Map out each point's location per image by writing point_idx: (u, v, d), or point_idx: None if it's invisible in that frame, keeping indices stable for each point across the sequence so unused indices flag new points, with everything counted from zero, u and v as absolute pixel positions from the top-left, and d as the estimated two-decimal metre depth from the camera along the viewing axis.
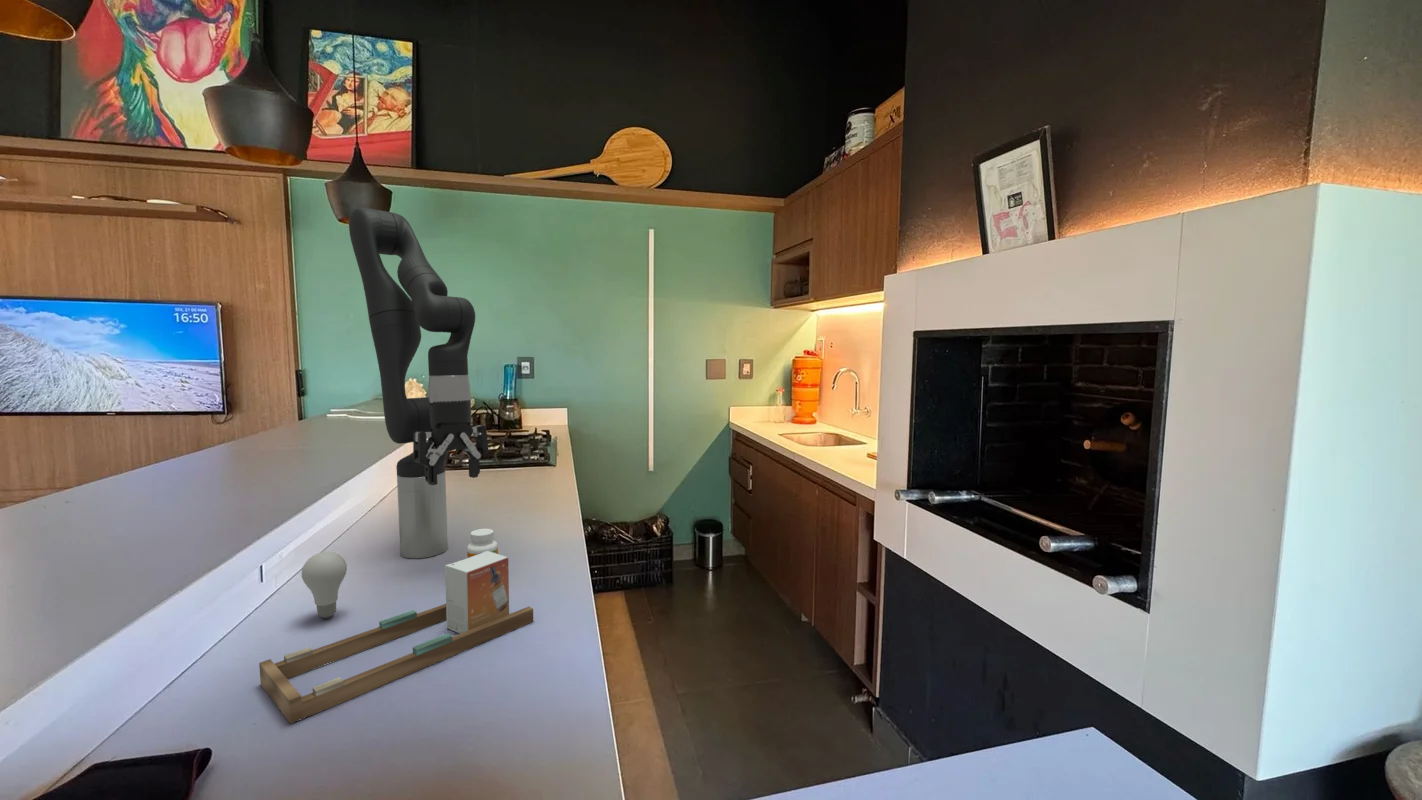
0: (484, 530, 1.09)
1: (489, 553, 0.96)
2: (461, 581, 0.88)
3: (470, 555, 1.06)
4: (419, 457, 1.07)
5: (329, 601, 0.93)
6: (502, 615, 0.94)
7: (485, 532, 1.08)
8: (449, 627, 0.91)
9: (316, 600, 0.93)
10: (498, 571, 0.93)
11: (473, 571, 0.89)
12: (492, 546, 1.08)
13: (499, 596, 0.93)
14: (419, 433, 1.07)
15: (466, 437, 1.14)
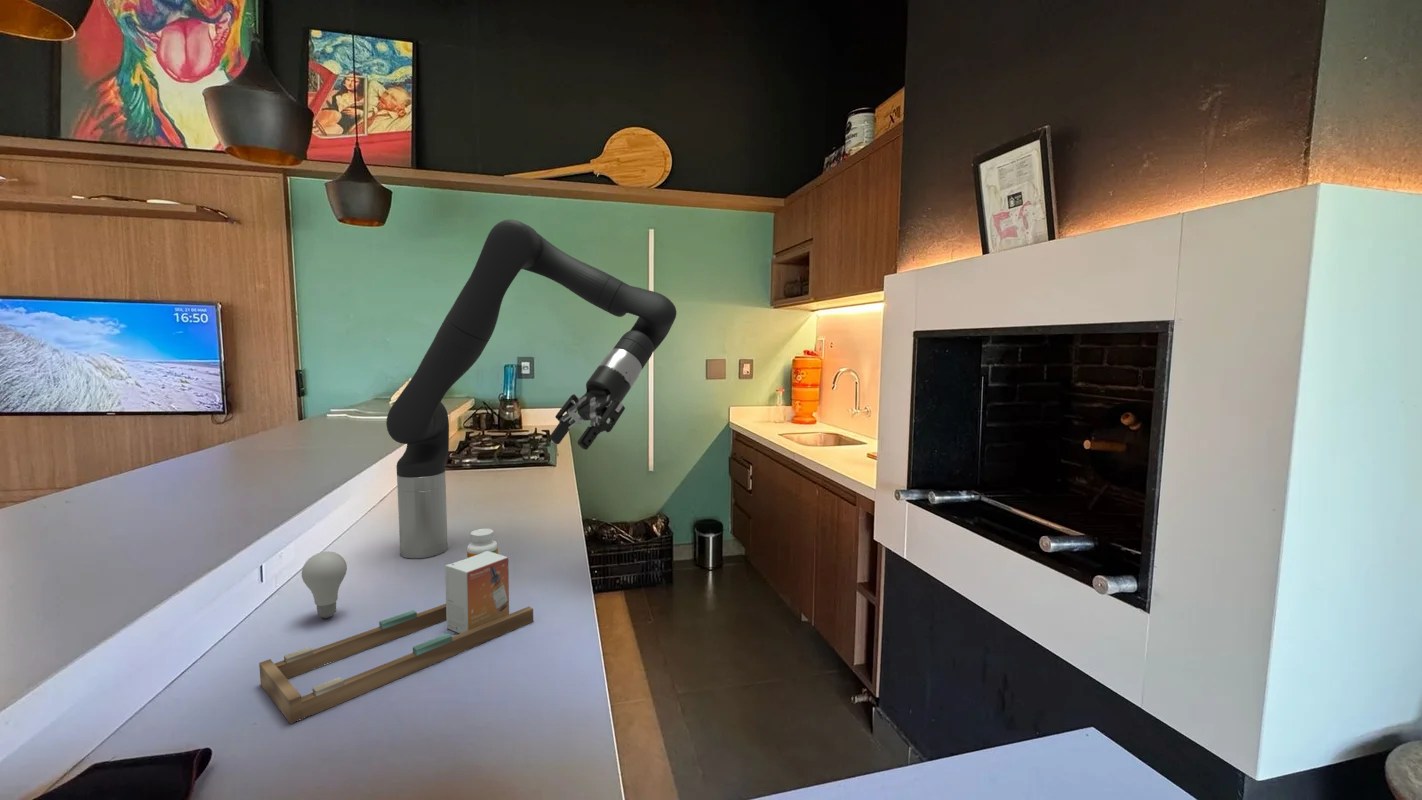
0: (484, 530, 1.09)
1: (489, 553, 0.96)
2: (461, 581, 0.88)
3: (470, 555, 1.06)
4: (612, 426, 1.03)
5: (329, 601, 0.93)
6: (502, 615, 0.94)
7: (485, 532, 1.08)
8: (449, 627, 0.91)
9: (316, 600, 0.93)
10: (498, 571, 0.93)
11: (473, 571, 0.89)
12: (492, 546, 1.08)
13: (499, 596, 0.93)
14: (623, 406, 1.05)
15: None
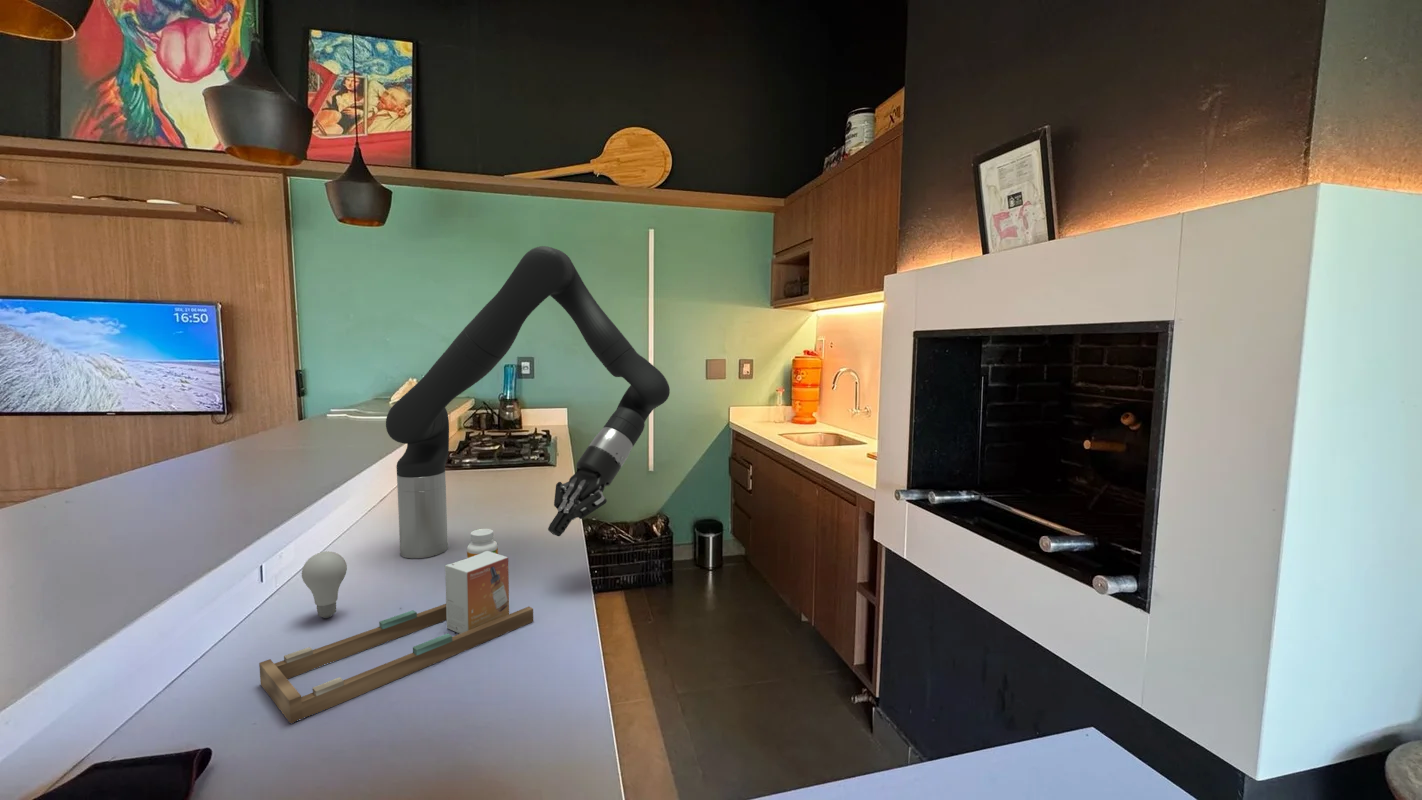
0: (484, 530, 1.09)
1: (489, 553, 0.96)
2: (461, 581, 0.88)
3: (470, 555, 1.06)
4: (584, 515, 1.04)
5: (329, 601, 0.93)
6: (502, 615, 0.94)
7: (485, 532, 1.08)
8: (449, 627, 0.91)
9: (316, 600, 0.93)
10: (498, 571, 0.93)
11: (473, 571, 0.89)
12: (492, 546, 1.08)
13: (499, 596, 0.93)
14: (604, 501, 1.04)
15: None
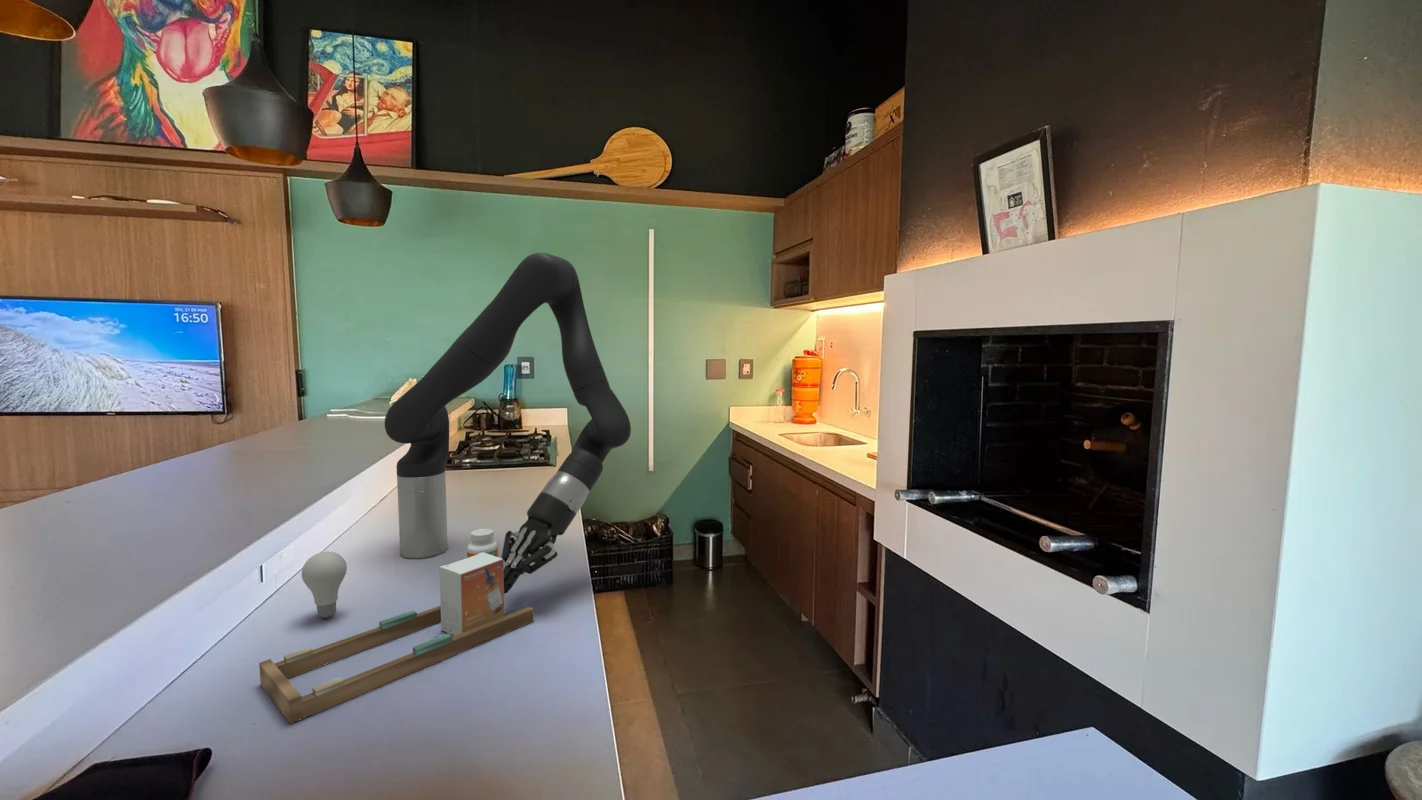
0: (484, 530, 1.09)
1: (484, 554, 0.95)
2: (455, 583, 0.88)
3: (470, 555, 1.06)
4: (533, 570, 0.97)
5: (329, 601, 0.93)
6: (497, 617, 0.93)
7: (485, 532, 1.08)
8: (443, 629, 0.90)
9: (316, 600, 0.93)
10: (492, 573, 0.92)
11: (467, 573, 0.88)
12: (492, 546, 1.08)
13: (494, 598, 0.92)
14: (555, 555, 0.97)
15: None
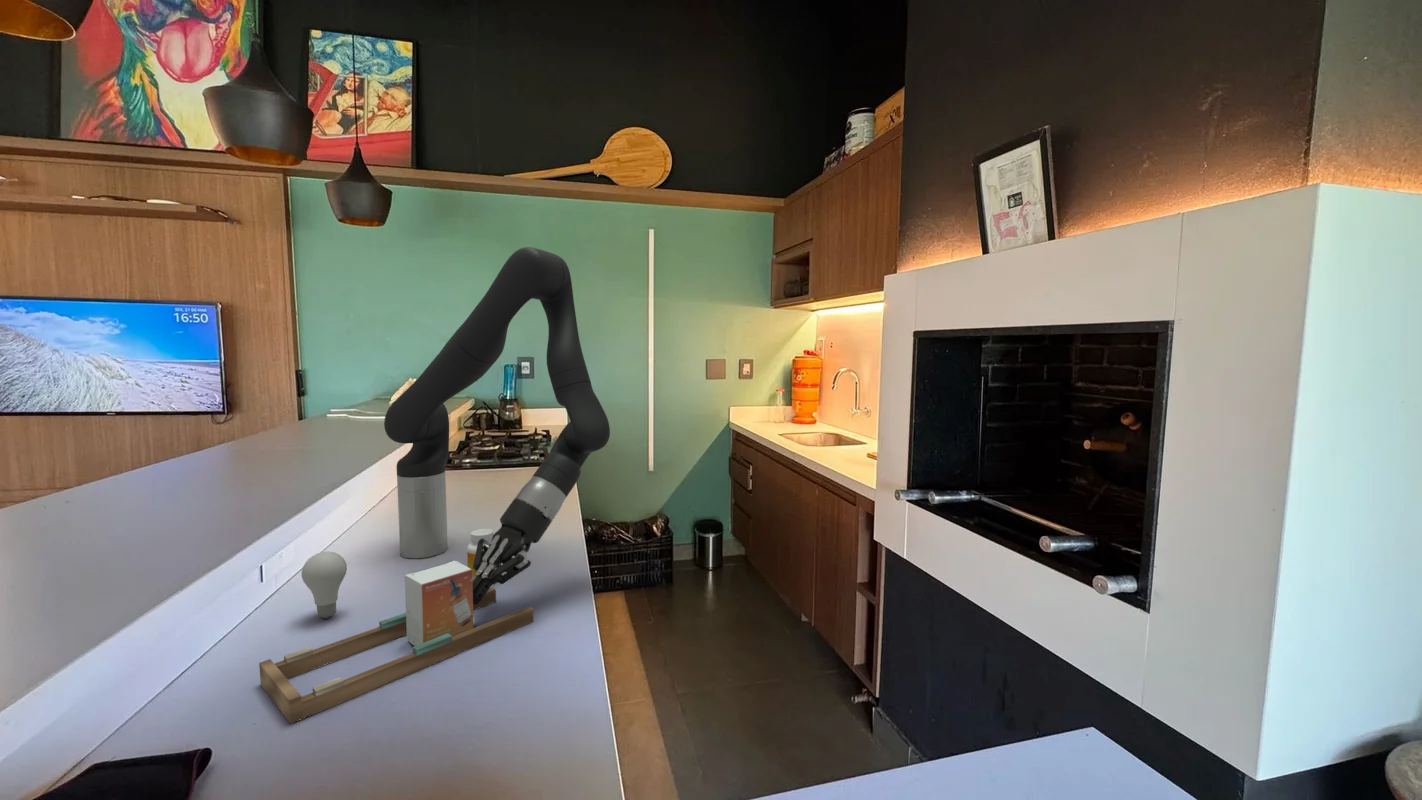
0: (484, 530, 1.09)
1: (455, 563, 0.91)
2: (417, 593, 0.84)
3: (470, 555, 1.06)
4: (505, 580, 0.93)
5: (329, 601, 0.93)
6: (465, 630, 0.89)
7: (485, 532, 1.08)
8: (408, 640, 0.87)
9: (316, 600, 0.93)
10: (459, 584, 0.87)
11: (429, 583, 0.84)
12: None
13: (461, 609, 0.88)
14: (527, 564, 0.92)
15: None
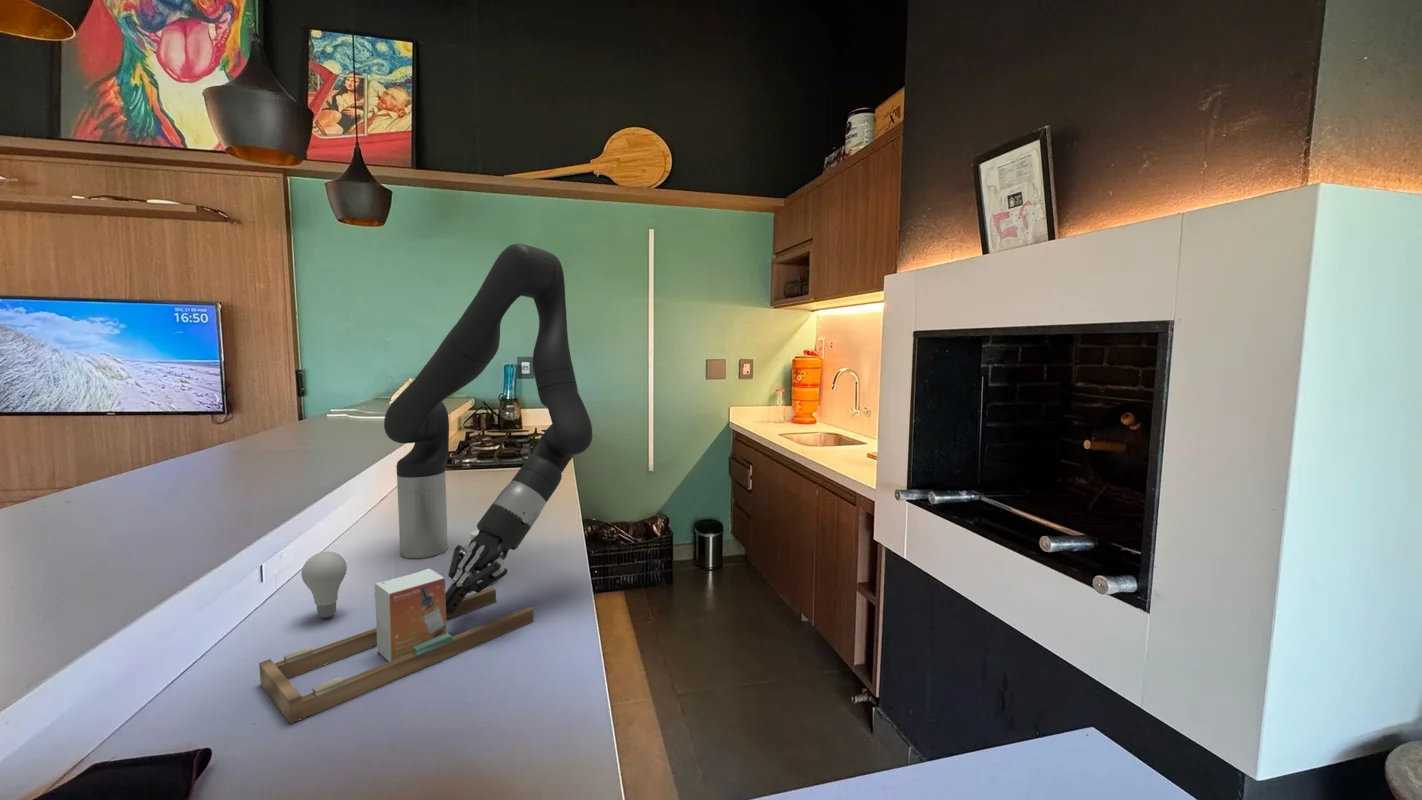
0: None
1: (429, 571, 0.88)
2: (385, 603, 0.81)
3: None
4: (481, 589, 0.89)
5: (329, 601, 0.93)
6: None
7: None
8: (378, 651, 0.84)
9: (316, 600, 0.93)
10: (431, 593, 0.84)
11: (397, 592, 0.81)
12: None
13: (432, 620, 0.85)
14: (504, 572, 0.89)
15: None
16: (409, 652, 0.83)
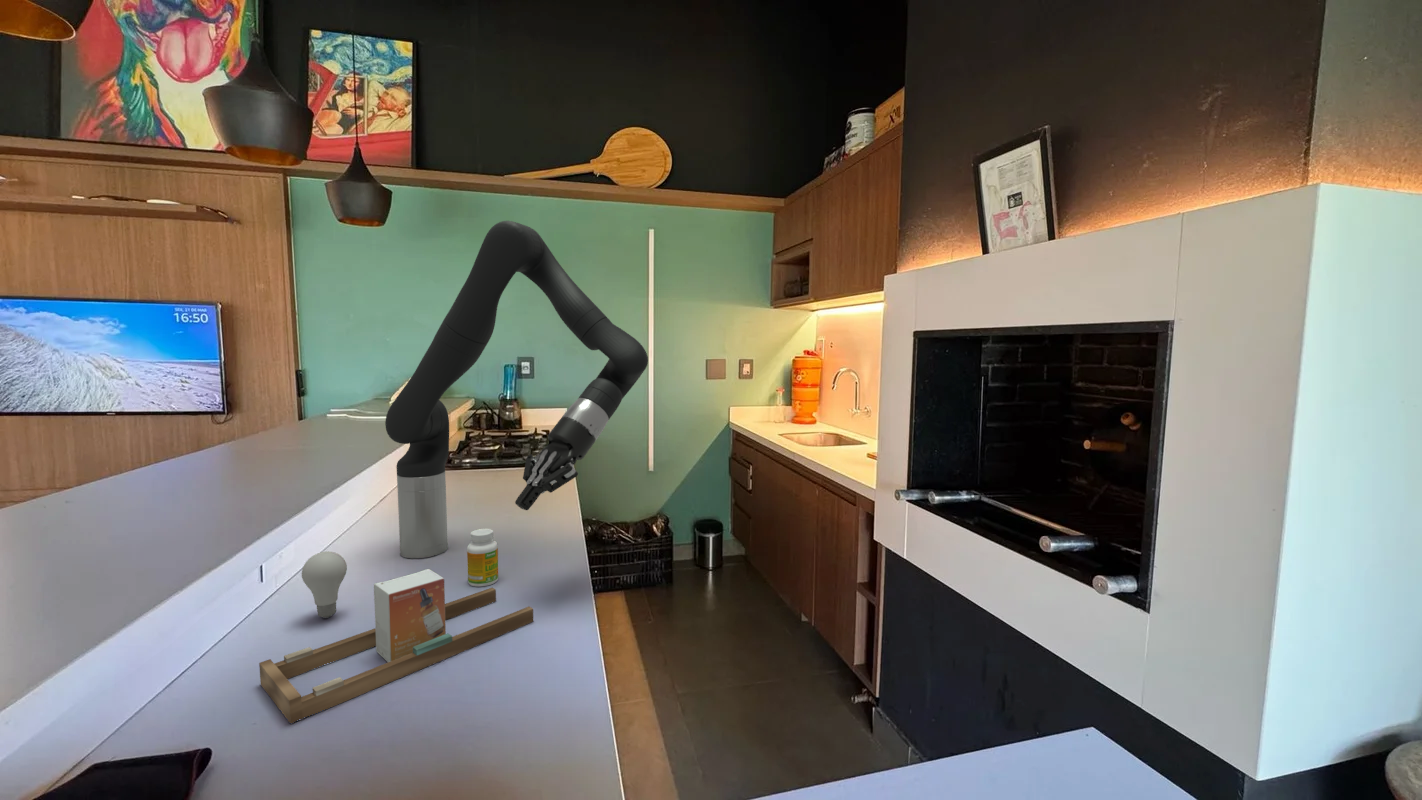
0: (484, 529, 1.09)
1: (428, 572, 0.88)
2: (384, 603, 0.81)
3: (470, 555, 1.06)
4: (554, 489, 0.99)
5: (329, 601, 0.93)
6: None
7: (485, 532, 1.08)
8: (377, 651, 0.84)
9: (316, 600, 0.93)
10: (430, 594, 0.84)
11: (397, 593, 0.81)
12: (492, 546, 1.08)
13: (432, 620, 0.85)
14: (575, 474, 0.99)
15: None
16: (408, 652, 0.82)
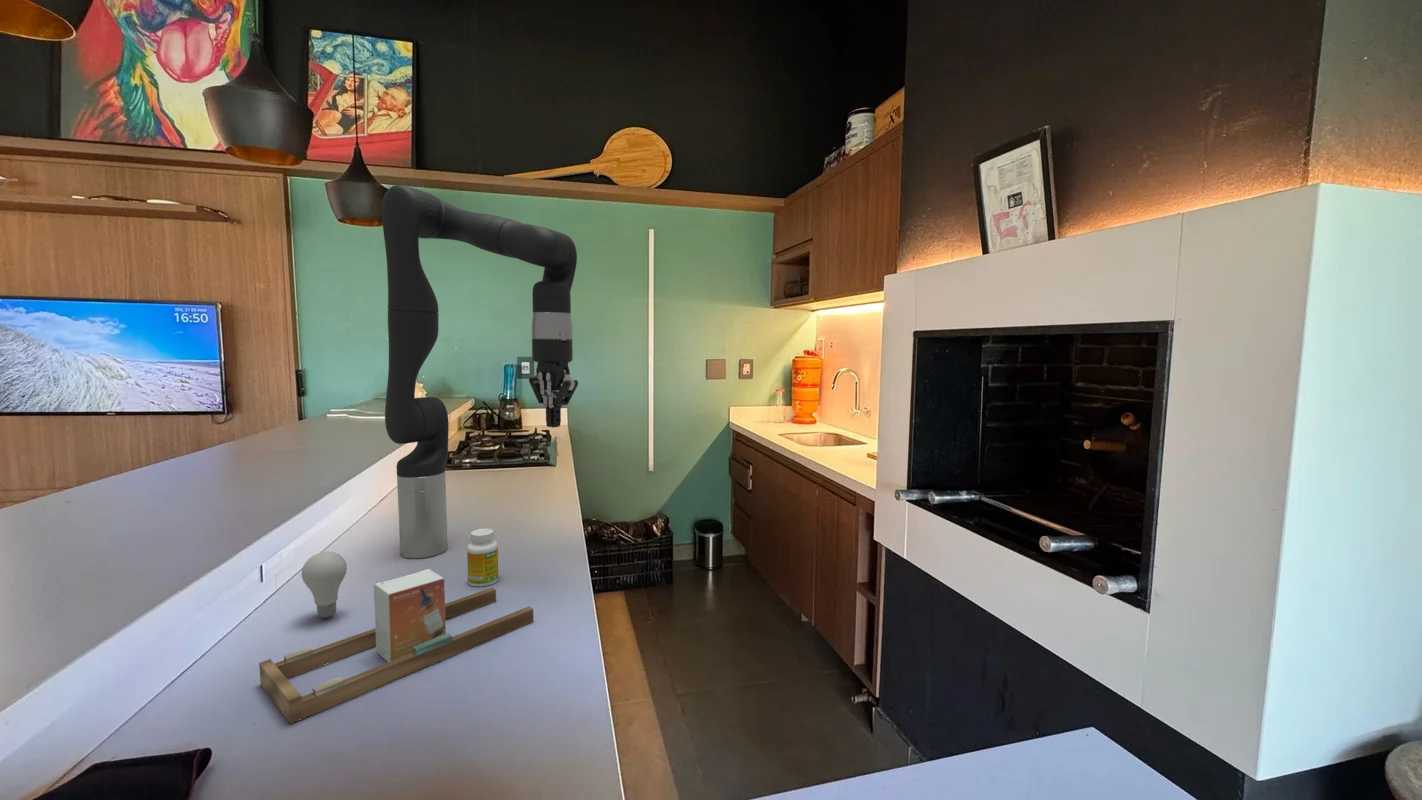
0: (484, 529, 1.09)
1: (428, 572, 0.88)
2: (384, 603, 0.81)
3: (470, 555, 1.06)
4: (568, 401, 1.10)
5: (329, 601, 0.93)
6: None
7: (485, 532, 1.08)
8: (377, 651, 0.84)
9: (316, 600, 0.93)
10: (430, 594, 0.84)
11: (397, 593, 0.81)
12: (492, 546, 1.08)
13: (432, 620, 0.85)
14: (576, 383, 1.08)
15: None
16: (408, 652, 0.82)
